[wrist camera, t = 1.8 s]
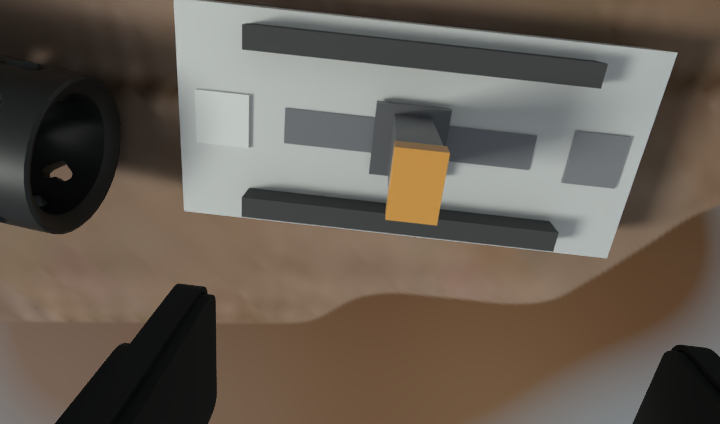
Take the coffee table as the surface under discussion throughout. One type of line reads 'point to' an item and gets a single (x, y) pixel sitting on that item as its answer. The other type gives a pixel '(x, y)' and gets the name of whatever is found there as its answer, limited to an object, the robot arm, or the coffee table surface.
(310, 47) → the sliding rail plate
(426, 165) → the toggle
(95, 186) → the muzzle brake
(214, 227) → the coffee table surface
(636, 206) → the coffee table surface
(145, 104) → the coffee table surface
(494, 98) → the breaker panel
